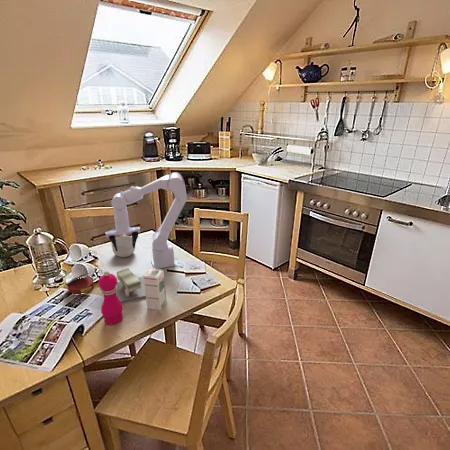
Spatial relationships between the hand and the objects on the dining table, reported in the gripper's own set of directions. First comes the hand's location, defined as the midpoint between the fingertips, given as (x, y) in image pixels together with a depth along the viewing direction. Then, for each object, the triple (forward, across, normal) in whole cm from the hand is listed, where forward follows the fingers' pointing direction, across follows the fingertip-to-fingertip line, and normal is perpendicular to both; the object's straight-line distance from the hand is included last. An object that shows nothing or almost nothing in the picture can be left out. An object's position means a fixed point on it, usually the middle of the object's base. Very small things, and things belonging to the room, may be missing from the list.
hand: (125, 248), depth 142 cm
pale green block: (+5, +2, +20) cm, 21 cm away
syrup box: (+10, -6, +33) cm, 35 cm away
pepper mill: (+10, +10, +35) cm, 38 cm away
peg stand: (+9, +2, +20) cm, 22 cm away
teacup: (+10, -1, -14) cm, 17 cm away
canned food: (+10, +20, +10) cm, 24 cm away
